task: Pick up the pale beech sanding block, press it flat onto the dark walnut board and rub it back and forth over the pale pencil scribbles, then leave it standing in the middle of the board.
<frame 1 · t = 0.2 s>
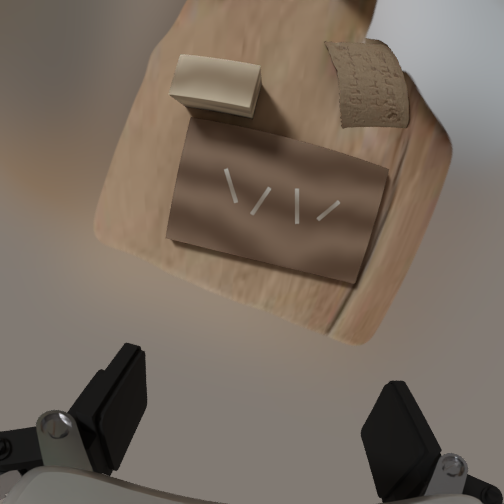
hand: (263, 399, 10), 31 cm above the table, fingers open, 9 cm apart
clay tablet: (365, 84, 35), on the table
walnut board: (277, 199, 39), on the table
sanding block: (223, 94, 35), on the table
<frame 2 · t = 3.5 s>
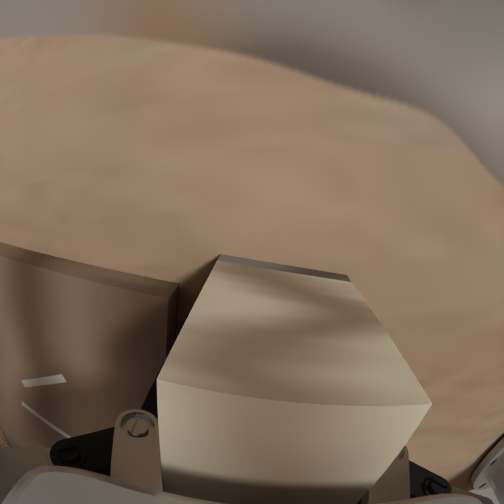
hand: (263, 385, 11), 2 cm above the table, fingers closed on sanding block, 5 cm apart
walnut board: (67, 428, 15), on the table
sanding block: (264, 360, 13), on the table, touching gripper
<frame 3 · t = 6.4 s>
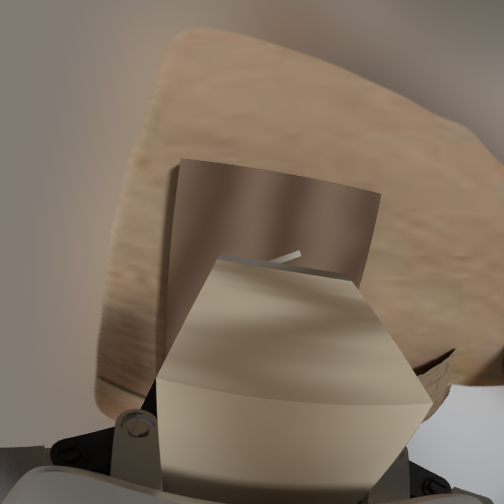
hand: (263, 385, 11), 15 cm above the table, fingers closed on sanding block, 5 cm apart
clay tablet: (402, 391, 30), on the table
walnut board: (256, 318, 27), on the table
sanding block: (264, 360, 13), point 14 cm above the table, touching gripper
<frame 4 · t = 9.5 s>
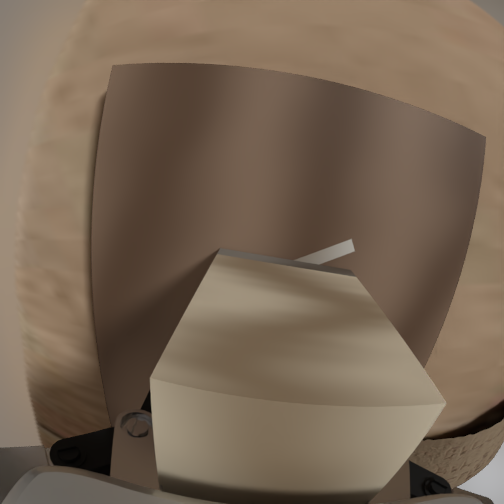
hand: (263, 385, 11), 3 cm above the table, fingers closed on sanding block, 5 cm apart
clay tablet: (461, 439, 17), on the table
walnut board: (260, 367, 14), on the table
sanding block: (265, 358, 12), point 2 cm above the table, touching gripper
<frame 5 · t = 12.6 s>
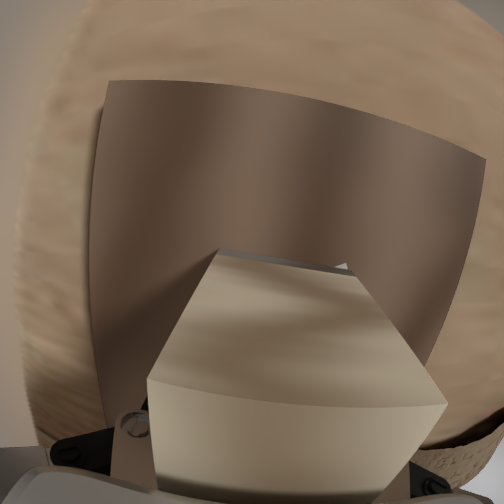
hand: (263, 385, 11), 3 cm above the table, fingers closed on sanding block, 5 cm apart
clay tablet: (452, 448, 18), on the table
walnut board: (254, 381, 15), on the table
sanding block: (265, 359, 12), point 2 cm above the table, touching gripper
when the fingers open (4 cm above the table, at t = 15.4 s): sanding block drops 1 cm, resting on walnut board.
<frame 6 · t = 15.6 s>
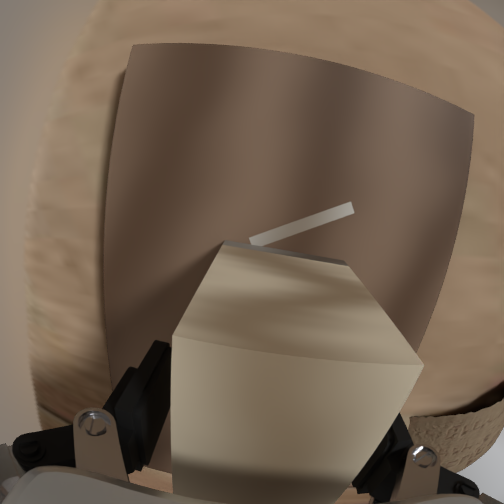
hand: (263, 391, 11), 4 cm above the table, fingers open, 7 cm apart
clay tablet: (461, 422, 18), on the table
walnut board: (264, 334, 15), on the table
sanding block: (266, 343, 14), point 2 cm above the table, touching walnut board
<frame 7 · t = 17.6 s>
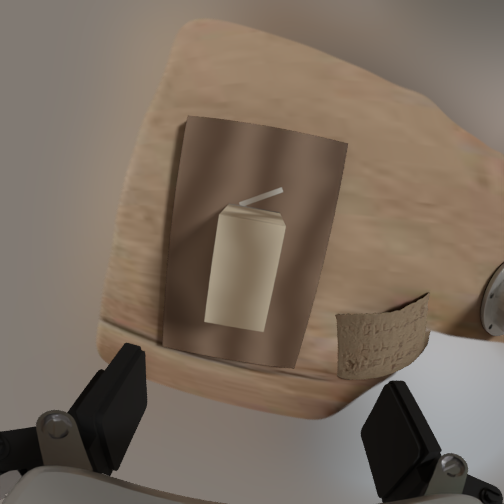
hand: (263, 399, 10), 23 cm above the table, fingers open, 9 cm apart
clay tablet: (382, 333, 36), on the table
walnut board: (246, 251, 32), on the table
sanding block: (246, 251, 31), point 2 cm above the table, touching walnut board
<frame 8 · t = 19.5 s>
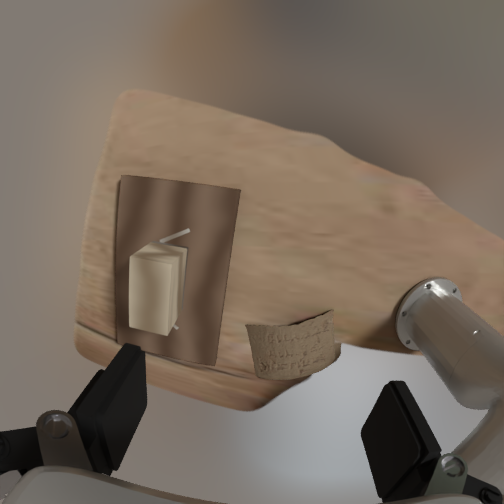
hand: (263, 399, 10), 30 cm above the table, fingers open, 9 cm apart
clay tablet: (292, 342, 45), on the table
walnut board: (170, 274, 42), on the table
sanding block: (167, 275, 40), point 2 cm above the table, touching walnut board
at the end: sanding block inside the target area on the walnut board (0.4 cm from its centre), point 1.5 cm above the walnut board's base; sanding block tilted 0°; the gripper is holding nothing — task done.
